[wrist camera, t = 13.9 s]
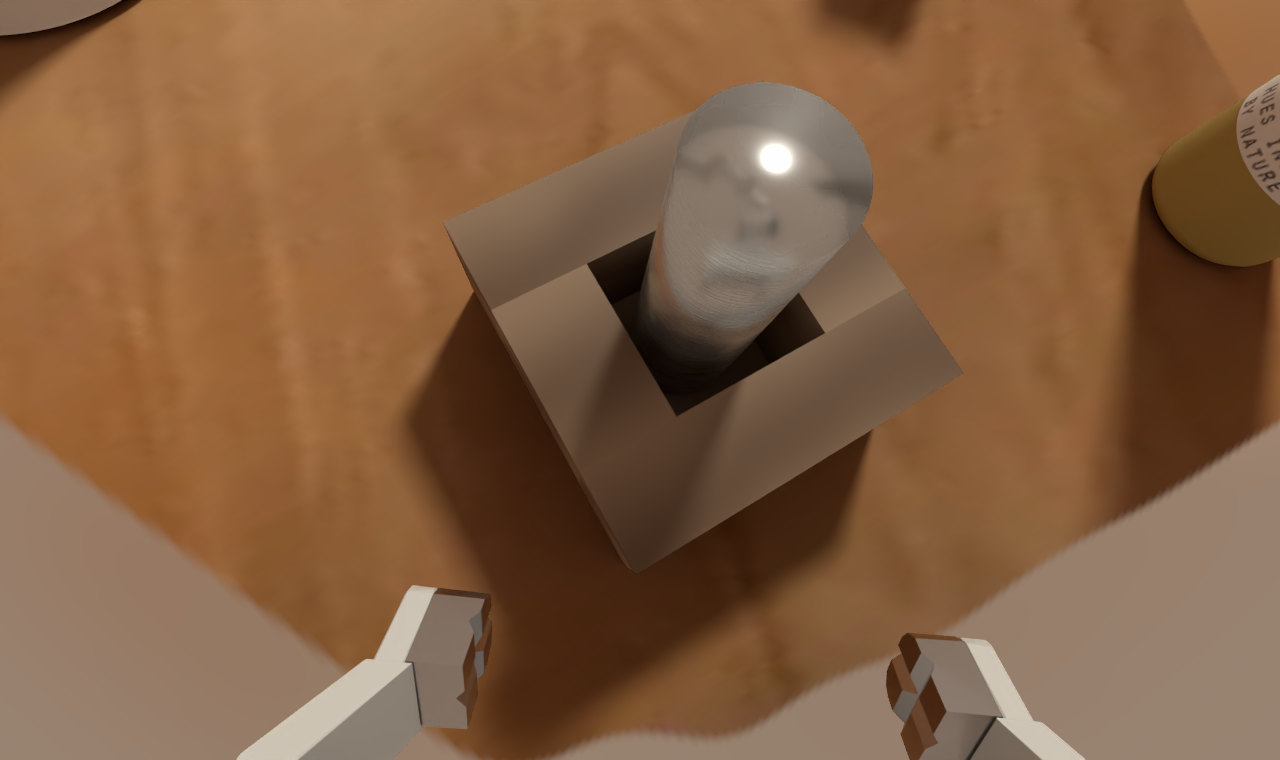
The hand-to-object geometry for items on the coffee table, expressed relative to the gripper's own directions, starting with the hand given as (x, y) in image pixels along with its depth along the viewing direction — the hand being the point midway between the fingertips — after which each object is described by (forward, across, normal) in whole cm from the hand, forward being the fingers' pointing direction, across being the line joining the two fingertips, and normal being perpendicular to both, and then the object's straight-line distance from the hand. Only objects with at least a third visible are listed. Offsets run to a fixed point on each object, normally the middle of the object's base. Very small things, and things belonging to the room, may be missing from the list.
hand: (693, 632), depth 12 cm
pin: (+13, 0, 0) cm, 13 cm away
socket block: (+14, 0, 0) cm, 14 cm away
